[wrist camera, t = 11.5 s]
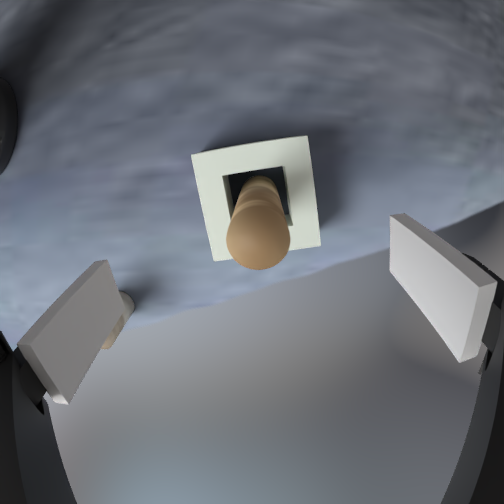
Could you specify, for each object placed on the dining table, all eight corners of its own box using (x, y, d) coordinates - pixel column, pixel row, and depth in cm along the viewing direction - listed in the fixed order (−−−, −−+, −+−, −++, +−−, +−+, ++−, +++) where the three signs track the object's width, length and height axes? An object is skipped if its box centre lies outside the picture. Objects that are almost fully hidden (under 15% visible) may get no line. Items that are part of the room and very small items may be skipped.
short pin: (115, 316, 37) (92, 349, 30) (105, 292, 35) (79, 323, 29) (138, 314, 36) (118, 348, 30) (128, 289, 35) (105, 321, 28)
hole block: (219, 246, 32) (214, 261, 29) (199, 152, 29) (191, 155, 25) (313, 232, 32) (320, 245, 28) (301, 135, 28) (307, 135, 24)
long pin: (244, 213, 31) (232, 273, 18) (238, 178, 30) (220, 214, 17) (279, 207, 31) (293, 264, 18) (274, 172, 29) (285, 204, 16)
